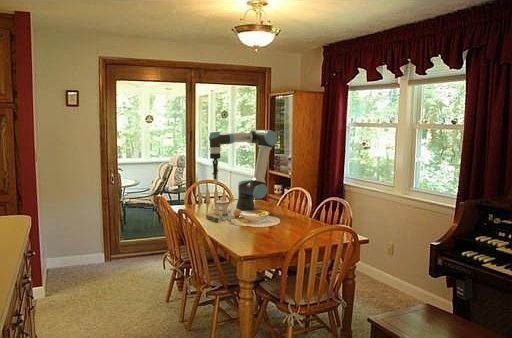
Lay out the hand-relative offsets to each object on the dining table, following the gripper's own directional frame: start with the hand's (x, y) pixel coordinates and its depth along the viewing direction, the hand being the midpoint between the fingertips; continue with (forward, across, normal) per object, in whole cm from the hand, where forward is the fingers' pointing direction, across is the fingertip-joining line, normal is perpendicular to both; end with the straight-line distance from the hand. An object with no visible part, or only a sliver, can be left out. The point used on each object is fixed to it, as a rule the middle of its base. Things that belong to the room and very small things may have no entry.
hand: (215, 182), depth 329 cm
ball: (+23, -1, +16) cm, 28 cm away
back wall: (+26, +10, -3) cm, 28 cm away
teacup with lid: (+26, -13, +2) cm, 29 cm away
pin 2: (+26, +11, +10) cm, 30 cm away
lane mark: (+26, +2, +10) cm, 28 cm away
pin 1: (+26, +6, +3) cm, 27 cm away
